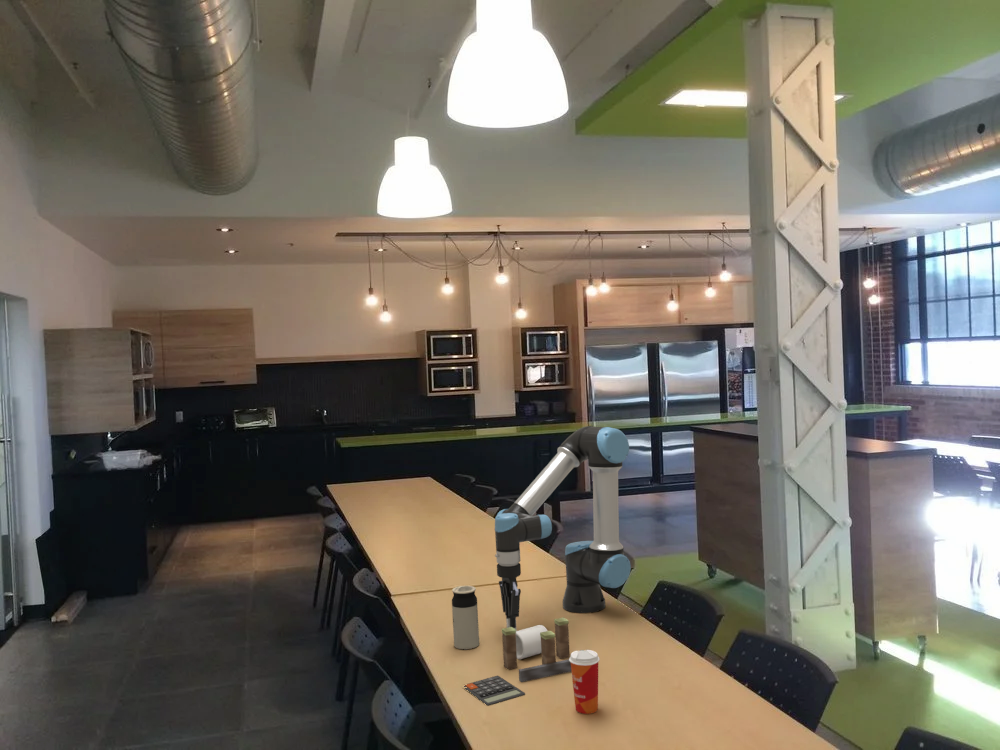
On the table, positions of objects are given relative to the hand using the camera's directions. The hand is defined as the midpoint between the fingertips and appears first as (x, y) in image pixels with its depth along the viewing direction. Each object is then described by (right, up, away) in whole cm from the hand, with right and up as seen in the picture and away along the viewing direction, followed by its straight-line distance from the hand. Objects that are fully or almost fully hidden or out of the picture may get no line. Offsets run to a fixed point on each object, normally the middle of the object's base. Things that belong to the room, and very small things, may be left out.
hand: (512, 637), depth 252 cm
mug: (+4, -2, -10) cm, 11 cm away
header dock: (+9, -1, -22) cm, 24 cm away
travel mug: (-14, -2, -1) cm, 15 cm away
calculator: (-6, -3, -37) cm, 37 cm away
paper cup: (+18, -2, -51) cm, 54 cm away
